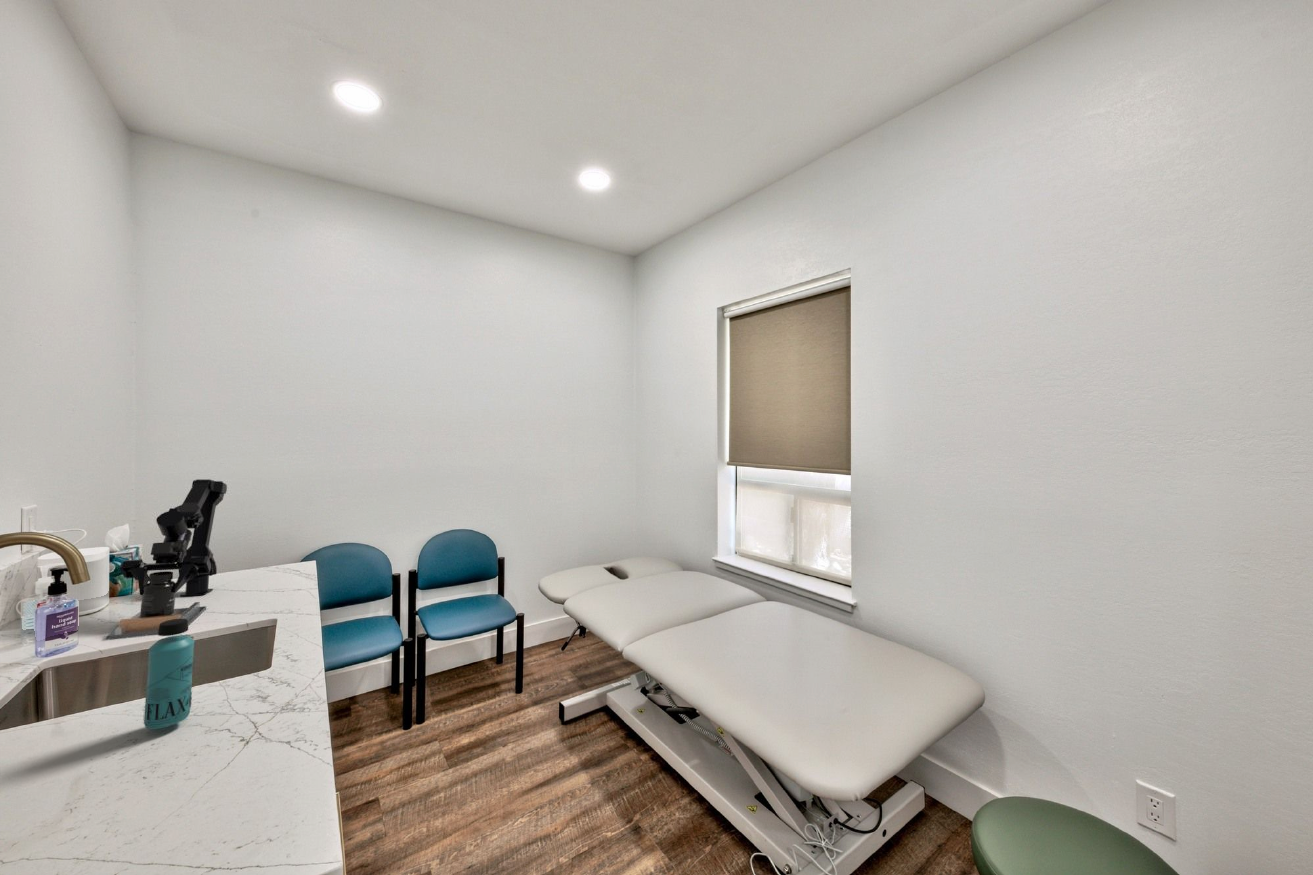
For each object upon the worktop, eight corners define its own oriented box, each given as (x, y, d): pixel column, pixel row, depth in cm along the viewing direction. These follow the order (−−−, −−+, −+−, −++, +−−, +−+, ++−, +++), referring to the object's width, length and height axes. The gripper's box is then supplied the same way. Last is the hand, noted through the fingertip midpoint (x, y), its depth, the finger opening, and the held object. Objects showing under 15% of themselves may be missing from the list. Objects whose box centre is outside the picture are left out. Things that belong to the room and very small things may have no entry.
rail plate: (140, 615, 148) (140, 601, 148) (205, 609, 155) (206, 596, 155) (106, 639, 130) (107, 624, 130) (182, 631, 137) (183, 617, 137)
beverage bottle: (135, 741, 89) (141, 629, 89) (151, 722, 95) (157, 617, 95) (183, 732, 92) (189, 624, 92) (196, 714, 98) (202, 613, 98)
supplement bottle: (176, 615, 142) (181, 573, 142) (143, 621, 136) (147, 577, 136) (170, 609, 146) (174, 568, 146) (136, 615, 140) (141, 572, 140)
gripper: (124, 531, 140) (102, 581, 130) (210, 529, 149) (195, 575, 139) (135, 553, 147) (115, 602, 137) (216, 549, 156) (203, 595, 146)
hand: (157, 593), depth 140 cm, fingers closed on supplement bottle, 7 cm apart
